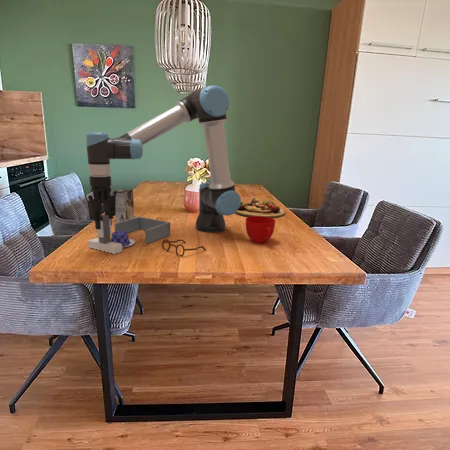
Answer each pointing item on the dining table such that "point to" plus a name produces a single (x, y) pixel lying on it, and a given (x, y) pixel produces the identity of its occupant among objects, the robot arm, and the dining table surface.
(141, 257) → the dining table surface
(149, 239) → the bin
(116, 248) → the scraper
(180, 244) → the glasses
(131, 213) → the coffee box
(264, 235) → the ceramic cup
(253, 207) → the wooden plate with food
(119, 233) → the pudding
